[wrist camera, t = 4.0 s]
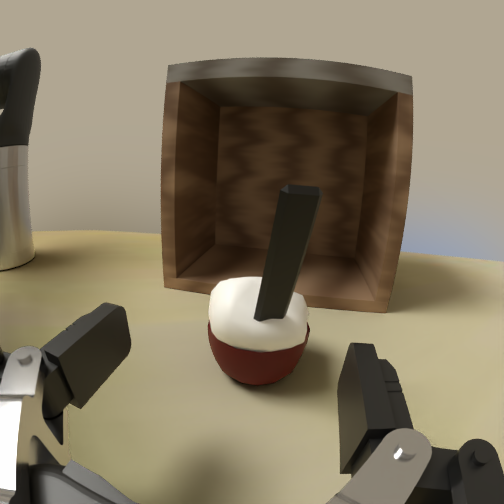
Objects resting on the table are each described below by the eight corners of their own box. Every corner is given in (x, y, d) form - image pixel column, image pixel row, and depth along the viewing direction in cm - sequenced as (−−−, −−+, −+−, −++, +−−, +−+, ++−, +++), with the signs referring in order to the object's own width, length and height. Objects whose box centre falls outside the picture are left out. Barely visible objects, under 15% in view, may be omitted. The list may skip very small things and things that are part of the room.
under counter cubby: (164, 287, 29) (168, 65, 22) (208, 248, 43) (214, 96, 36) (385, 312, 25) (411, 76, 18) (360, 263, 39) (375, 106, 33)
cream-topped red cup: (227, 333, 22) (226, 181, 19) (304, 340, 22) (316, 183, 19) (187, 414, 13) (165, 183, 10) (301, 430, 12) (333, 186, 9)
